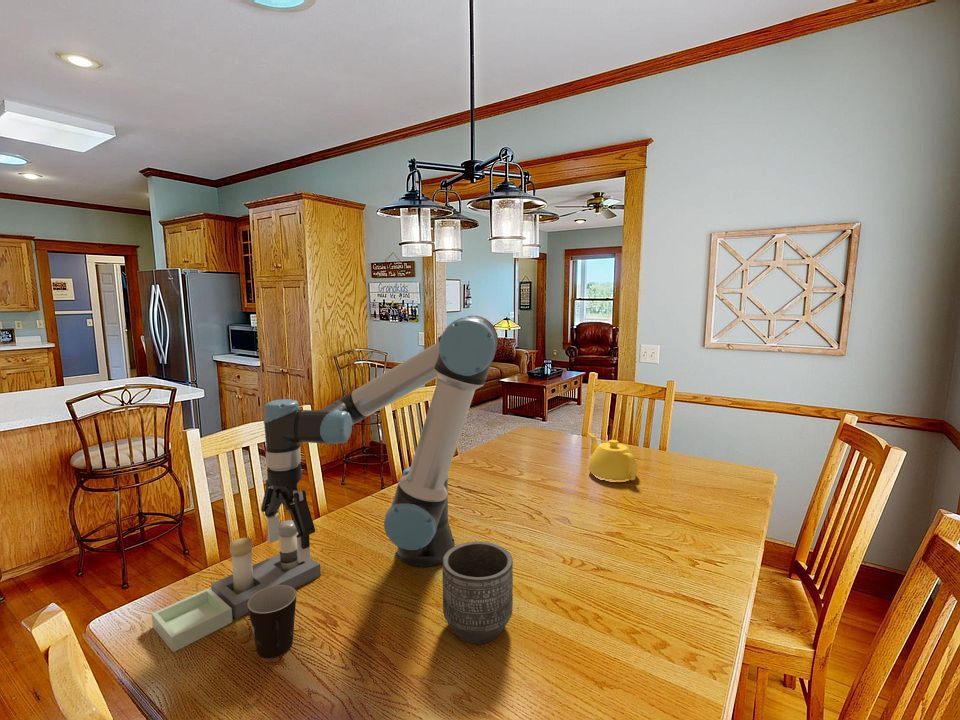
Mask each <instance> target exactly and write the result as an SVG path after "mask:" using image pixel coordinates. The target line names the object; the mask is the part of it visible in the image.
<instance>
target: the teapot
mask: <svg viewBox="0 0 960 720" xmlns="http://www.w3.org/2000/svg"><path fill="white" fill-rule="evenodd" d="M588 435H589V437H590V450H589V452H590V458H589V461H588V471H589V473H590V472H591V473H592V474H594V475H596V476H598V477H601V478H605V479H612V480H625V479H629V480H631V481H634V480H636V476H637V474H638V466H637V462H636V459H635V457H634V455H633V453H632V451H631V450H630V449H629V447H628V446H627V445H625V444H622V443H620V442H619V440H616V439H609V440H608V442H603V443H600V444H599V445H598V440H597V437H596V436H595V435H594V434H593V433H591V432H588ZM591 473H590V474H591ZM592 474H591V475H592Z"/></svg>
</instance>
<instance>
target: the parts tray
mask: <svg viewBox="0 0 960 720" xmlns="http://www.w3.org/2000/svg"><path fill="white" fill-rule="evenodd" d="M151 621H152V624H151V625H152V628H153V630H154V631H155V632H156V633H157V634H158V636H159V637H160V638H161V639H162V641H163V642H164V643H165V644H166V646H167V647H168V648H169V649H170V651H172V653H176V652H177V651H178V650H180V649H183V648H185V647H186V646H187V647H188V646H189V645H190V644H193V643H195V642H196V641H199V640H200V639H203V638H205V637H206V636H208V635H211V634H212V633H214V632H216V631H218V630H220V629H222V628H224V627H226V626H228V625H230V624H231V623H232V624H233V615H232V608H231V607H230V606H228V605H227V604H226V603H225V602H224V601H223V600H222V599H221V598H220V597H218V596H217V595H216V594H215V593H214V592H213V591H212V590H211V588H209V587H208V588H205V589H204V590H202V591H200V592H197V593H195V594H192V595H190V596H187V597H185V598H183V599H181V600H179V601H177V602H174V603H172V604H170V605H168V606H165V607H163V608H160V609H158V610H155V611H154V612H152V613H151Z"/></svg>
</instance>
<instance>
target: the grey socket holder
mask: <svg viewBox="0 0 960 720" xmlns="http://www.w3.org/2000/svg"><path fill="white" fill-rule="evenodd" d="M252 541H253V540H252V538H250V537H240V538H237V539H234V540H233V541H231V542H229V553H230V554H229V555H230V556H231V567H232V568H231V569H232V574H231V575H228V576H225V577H224V578H221V579H219V580H216V581H214V582H211V583H210V584H211V585H210V587H211V588H210V589H211V590H212V591H213V592H214V593H215V594H216V595H217V596H218V597H220V598H221V599H222V600H223V601H224V602H225V603H226V604H227V605H228V606H230V607H231V608H232V617H234V618H235V619H238V618H240V617H242V616H245V615H246V614H249V611H248V607H247V603H248V600H249V599H250V598H251V597H252V596H253V595H254V594H255V593H256V592H258V591H260V590H262V589H264V588H267V587H270V586H275V585H287V586H291V587H293V588H294V589H295V590H296V589H297V588H299V587H301V586H303V585H305V584H307V583H309V582H311V581H313V580H314V579H317V578H319V577H321V576H322V575H321V573H322V572H321V563H319V562H317V561H316V560H314V559H313V558H311V557H310V558H309V559H307V560H305V561H303V562H301V563H299V562H298V563H299V566H297V567H295V568H293V569H291V570H289V571H287V572H284V571H282V570H281V569H280V568H281V562H280V553H278V554H276V555H273V556H272V557H269V558H266V559H264V560H262V561H260V562H257V563H256V564H253V556H252V555H253V554H252V553H253V552H252V551H253V542H252Z"/></svg>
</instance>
